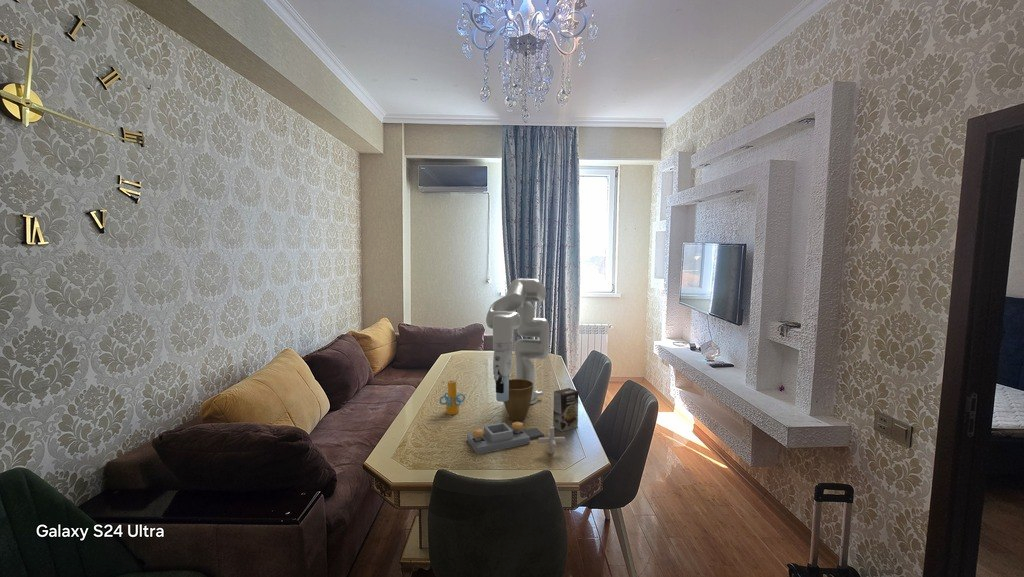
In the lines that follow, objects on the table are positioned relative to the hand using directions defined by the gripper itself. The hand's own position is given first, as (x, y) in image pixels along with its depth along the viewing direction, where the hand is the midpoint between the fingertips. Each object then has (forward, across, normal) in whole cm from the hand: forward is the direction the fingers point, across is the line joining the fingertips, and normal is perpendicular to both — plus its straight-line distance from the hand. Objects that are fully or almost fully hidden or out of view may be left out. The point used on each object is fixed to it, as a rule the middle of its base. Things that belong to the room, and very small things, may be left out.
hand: (502, 389), depth 174 cm
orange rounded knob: (+20, -8, +7) cm, 22 cm away
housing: (+21, -2, +1) cm, 21 cm away
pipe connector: (+21, -3, -21) cm, 30 cm away
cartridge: (+4, 0, 0) cm, 4 cm away
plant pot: (+21, +24, +3) cm, 32 cm away
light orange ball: (+20, +4, -5) cm, 21 cm away
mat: (+21, +10, -10) cm, 25 cm away
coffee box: (+21, +22, -20) cm, 37 cm away
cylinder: (+22, +18, +33) cm, 44 cm away
